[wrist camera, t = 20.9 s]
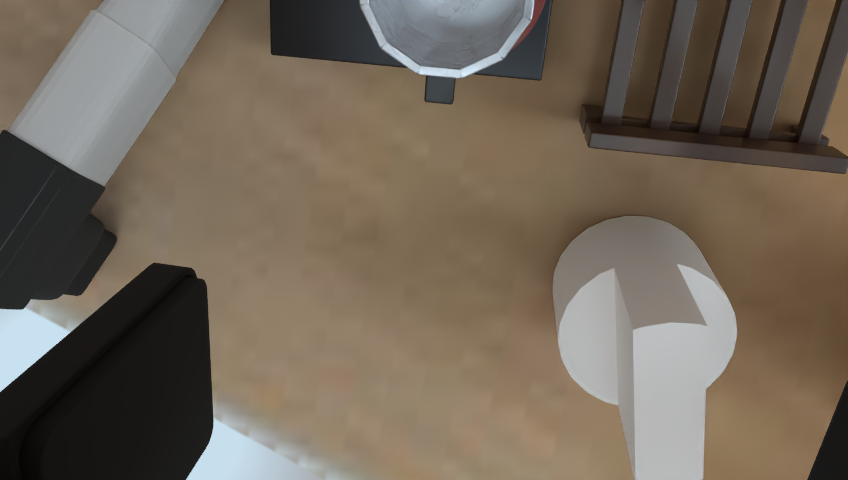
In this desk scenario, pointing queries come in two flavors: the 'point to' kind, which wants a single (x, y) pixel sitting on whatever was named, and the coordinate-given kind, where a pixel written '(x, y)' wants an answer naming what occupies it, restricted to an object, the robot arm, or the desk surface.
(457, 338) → the desk surface
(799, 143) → the drying rack
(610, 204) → the desk surface
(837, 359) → the desk surface
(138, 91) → the handheld device
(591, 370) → the base with upright slab
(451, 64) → the steel pot
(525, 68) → the hob
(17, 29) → the desk surface
